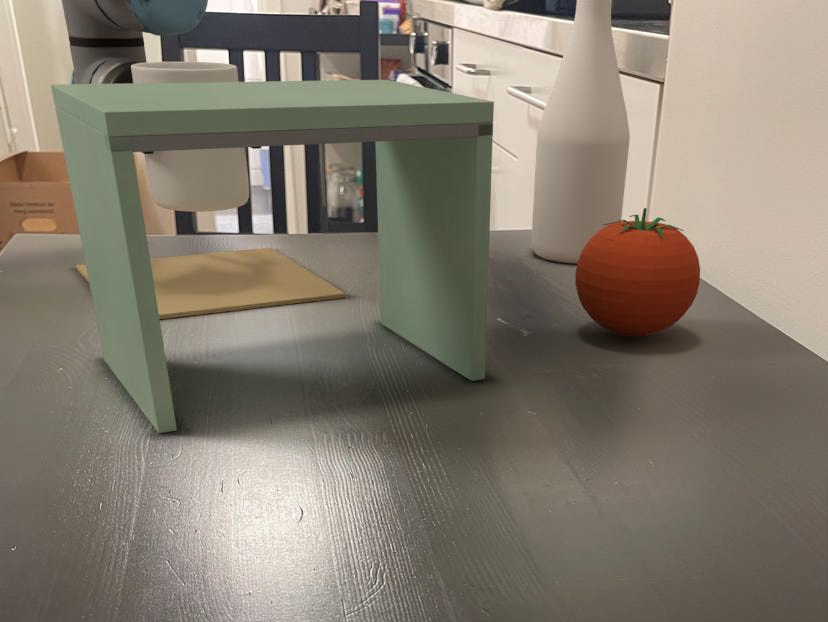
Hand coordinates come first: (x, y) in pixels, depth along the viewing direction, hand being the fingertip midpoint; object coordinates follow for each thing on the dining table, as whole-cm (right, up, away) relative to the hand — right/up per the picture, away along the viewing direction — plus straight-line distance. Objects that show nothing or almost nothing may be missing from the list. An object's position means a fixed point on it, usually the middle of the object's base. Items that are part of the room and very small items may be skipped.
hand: (202, 133), depth 82 cm
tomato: (+36, -17, +1) cm, 40 cm away
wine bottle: (+34, -1, +25) cm, 42 cm away
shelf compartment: (+9, -22, -9) cm, 26 cm away
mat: (-3, -9, +11) cm, 14 cm away
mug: (-2, -3, +7) cm, 8 cm away
